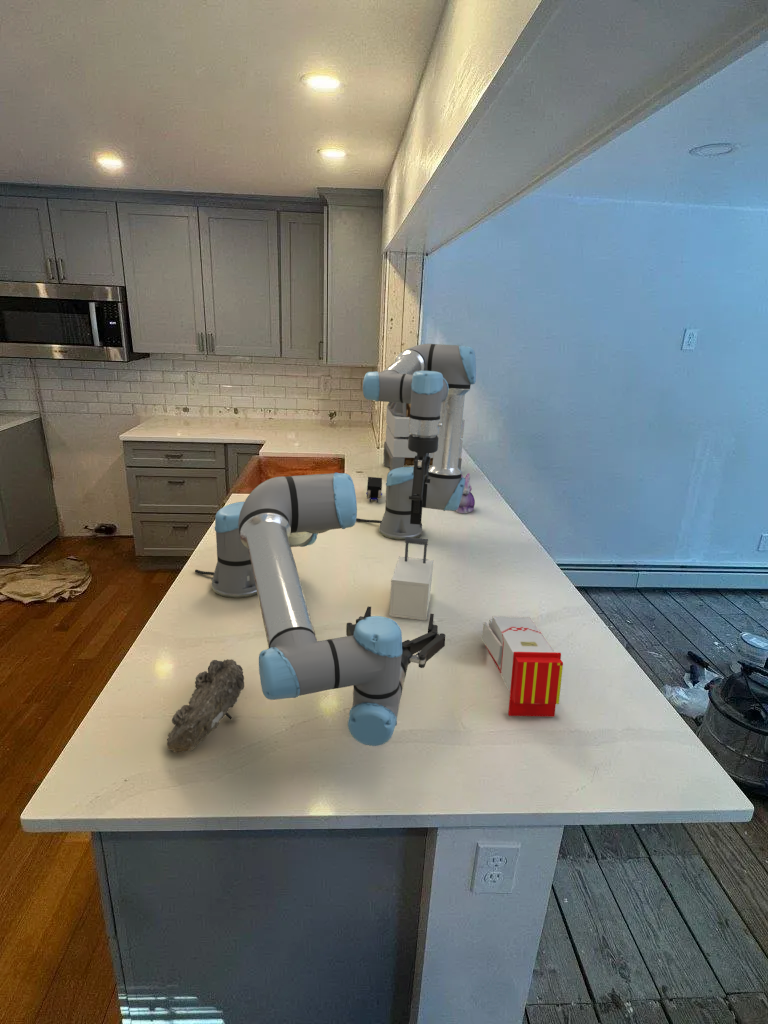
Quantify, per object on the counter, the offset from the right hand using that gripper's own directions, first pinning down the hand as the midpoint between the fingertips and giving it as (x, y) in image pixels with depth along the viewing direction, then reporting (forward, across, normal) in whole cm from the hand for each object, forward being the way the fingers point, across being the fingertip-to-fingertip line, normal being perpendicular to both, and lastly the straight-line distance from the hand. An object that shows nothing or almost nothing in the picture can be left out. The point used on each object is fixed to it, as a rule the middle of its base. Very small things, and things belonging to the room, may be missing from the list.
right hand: (418, 514), depth 149 cm
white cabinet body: (+24, -5, 0) cm, 25 cm away
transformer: (+24, +125, +11) cm, 128 cm away
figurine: (+24, +77, -12) cm, 81 cm away
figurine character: (+24, +81, +25) cm, 88 cm away
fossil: (+24, -57, +32) cm, 70 cm away
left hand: (+12, -33, 0) cm, 35 cm away
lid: (+14, -5, 0) cm, 15 cm away
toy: (+24, -31, -26) cm, 47 cm away
